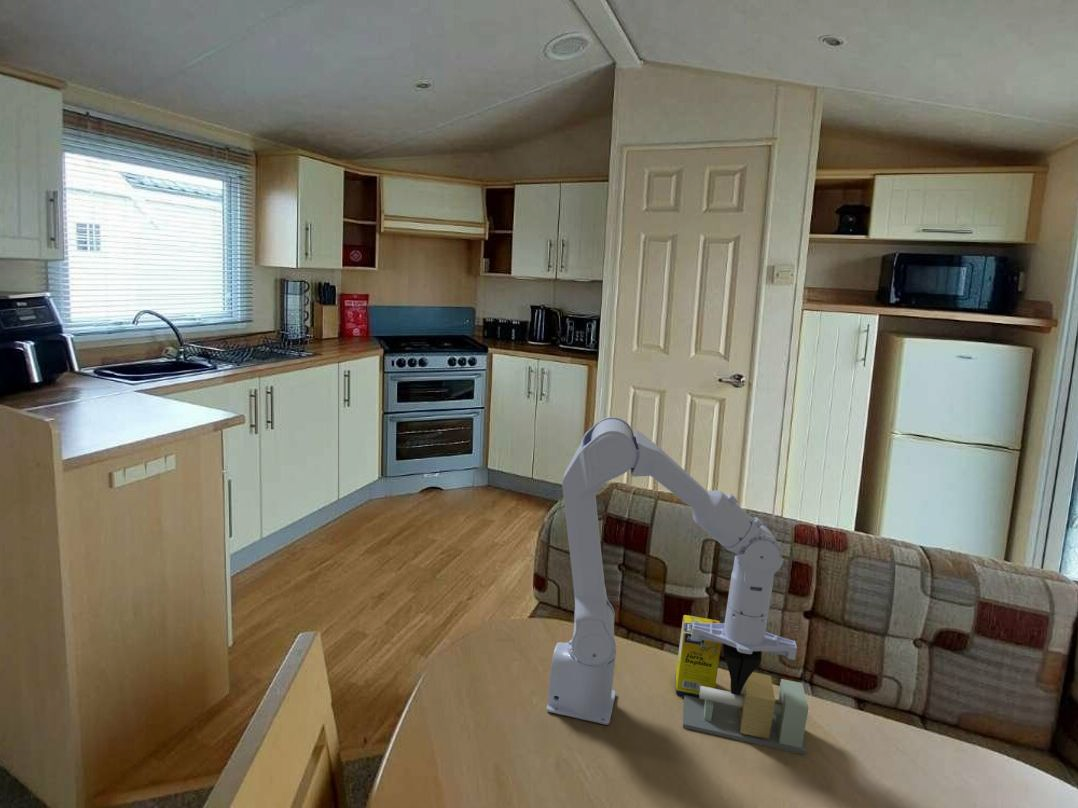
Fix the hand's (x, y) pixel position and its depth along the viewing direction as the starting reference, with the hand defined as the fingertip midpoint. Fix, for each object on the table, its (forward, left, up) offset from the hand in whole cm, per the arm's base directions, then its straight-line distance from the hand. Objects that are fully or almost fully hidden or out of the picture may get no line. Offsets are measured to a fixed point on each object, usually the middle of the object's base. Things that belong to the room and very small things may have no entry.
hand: (735, 690), depth 96 cm
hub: (+3, 0, -5) cm, 6 cm away
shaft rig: (+2, 0, -5) cm, 6 cm away
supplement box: (-5, +7, -6) cm, 11 cm away
